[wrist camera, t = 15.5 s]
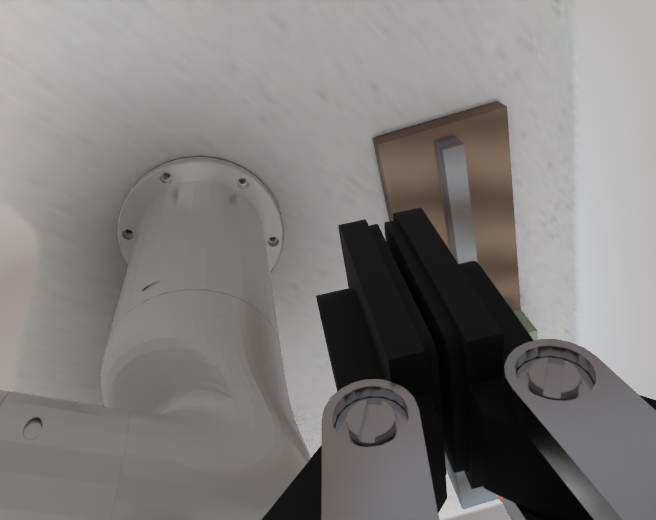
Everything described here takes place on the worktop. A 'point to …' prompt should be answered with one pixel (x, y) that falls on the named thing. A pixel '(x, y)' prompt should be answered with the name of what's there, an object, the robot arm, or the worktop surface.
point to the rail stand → (459, 203)
